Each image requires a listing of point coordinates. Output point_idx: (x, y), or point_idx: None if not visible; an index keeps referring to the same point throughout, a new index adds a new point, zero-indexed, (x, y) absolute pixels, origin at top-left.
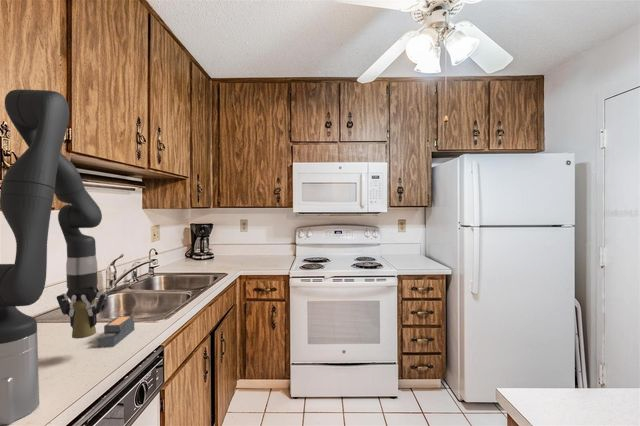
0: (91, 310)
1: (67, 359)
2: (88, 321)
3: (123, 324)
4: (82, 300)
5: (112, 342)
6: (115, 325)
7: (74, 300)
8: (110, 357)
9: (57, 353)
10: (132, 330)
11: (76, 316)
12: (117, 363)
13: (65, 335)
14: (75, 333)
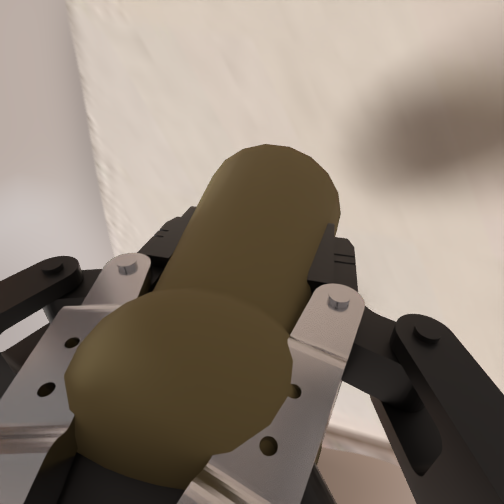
0: (96, 291)
1: (363, 152)
2: (185, 228)
3: None
4: (92, 448)
5: None
6: None
7: (221, 490)
8: (172, 139)
9: (441, 230)
10: None
11: (260, 253)
12: (102, 65)
13: None
14: (289, 166)
